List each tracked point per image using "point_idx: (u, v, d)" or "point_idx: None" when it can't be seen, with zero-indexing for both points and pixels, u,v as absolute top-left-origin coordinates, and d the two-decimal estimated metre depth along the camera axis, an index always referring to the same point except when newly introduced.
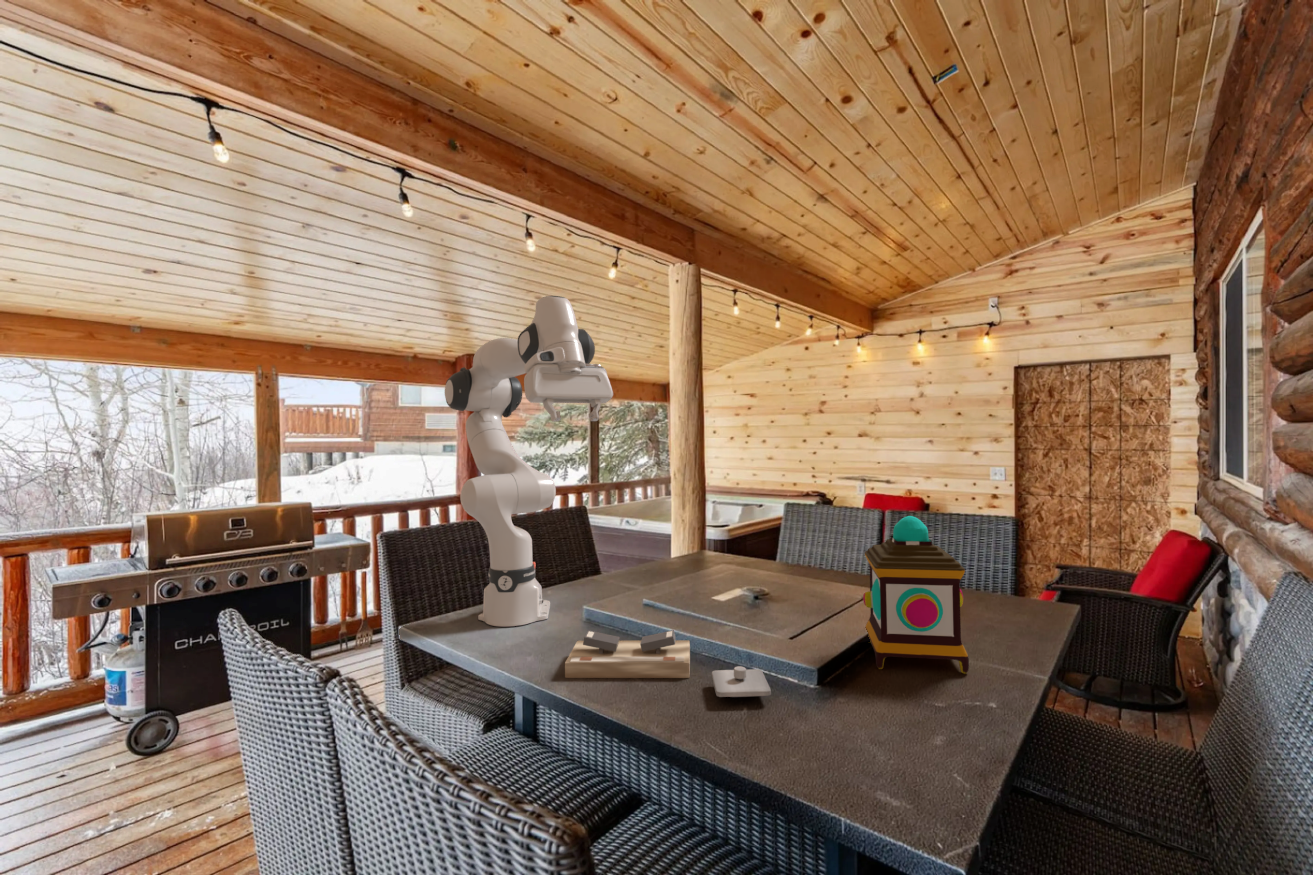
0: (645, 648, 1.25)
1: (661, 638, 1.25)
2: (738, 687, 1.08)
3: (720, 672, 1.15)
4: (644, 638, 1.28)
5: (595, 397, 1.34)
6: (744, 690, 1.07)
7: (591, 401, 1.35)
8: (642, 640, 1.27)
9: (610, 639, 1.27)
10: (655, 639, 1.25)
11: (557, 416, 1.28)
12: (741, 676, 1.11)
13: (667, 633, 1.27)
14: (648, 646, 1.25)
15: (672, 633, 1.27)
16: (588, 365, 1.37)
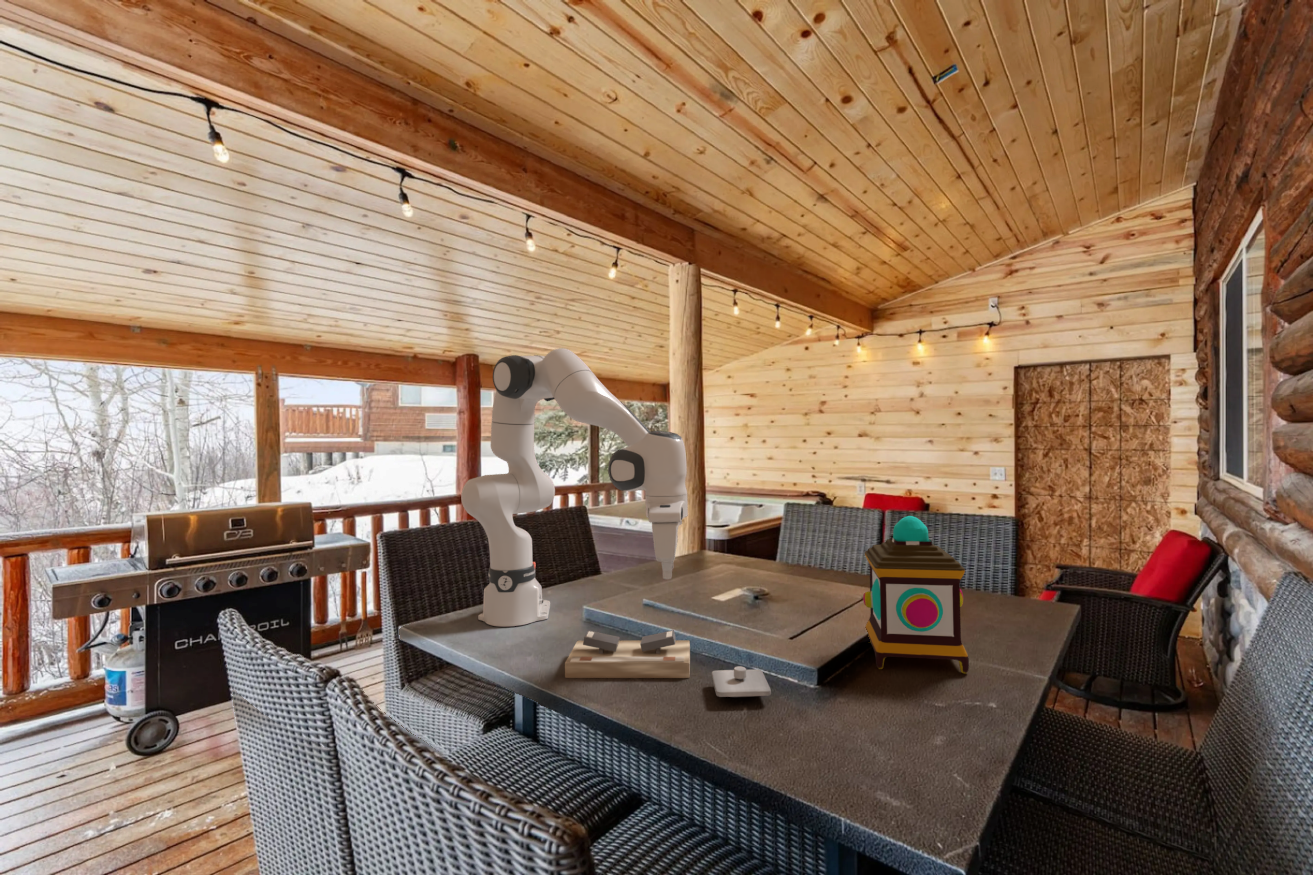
0: (645, 648, 1.25)
1: (661, 638, 1.25)
2: (738, 687, 1.08)
3: (720, 672, 1.15)
4: (644, 638, 1.28)
5: None
6: (744, 690, 1.07)
7: None
8: (642, 640, 1.27)
9: (610, 639, 1.27)
10: (655, 639, 1.25)
11: (671, 575, 1.23)
12: (741, 676, 1.11)
13: (667, 633, 1.27)
14: (648, 646, 1.25)
15: (672, 633, 1.27)
16: None
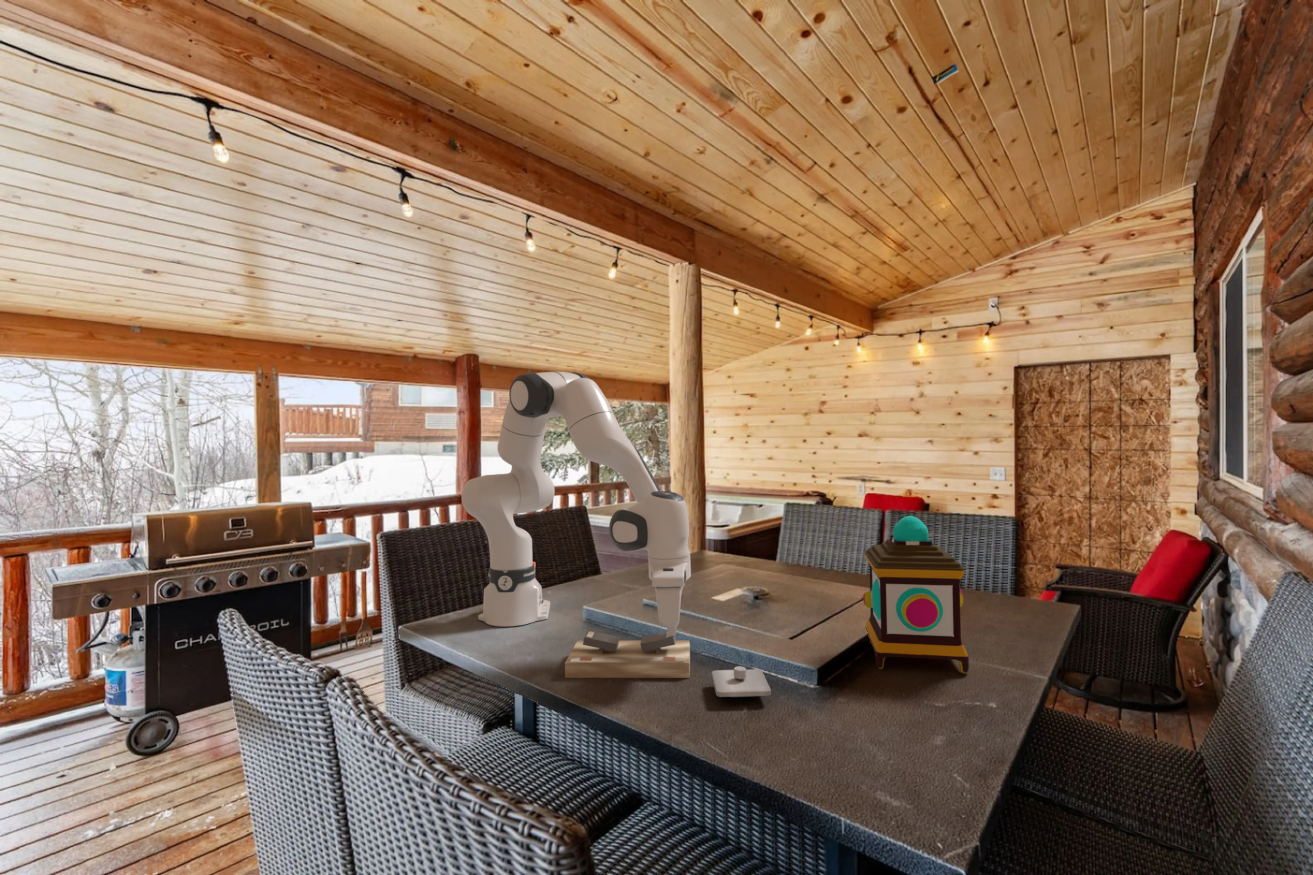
0: (645, 648, 1.25)
1: (661, 638, 1.25)
2: (738, 687, 1.08)
3: (720, 672, 1.15)
4: (644, 638, 1.28)
5: None
6: (744, 690, 1.07)
7: None
8: (642, 640, 1.27)
9: (610, 639, 1.27)
10: (655, 639, 1.25)
11: None
12: (741, 676, 1.11)
13: None
14: (648, 646, 1.25)
15: None
16: None
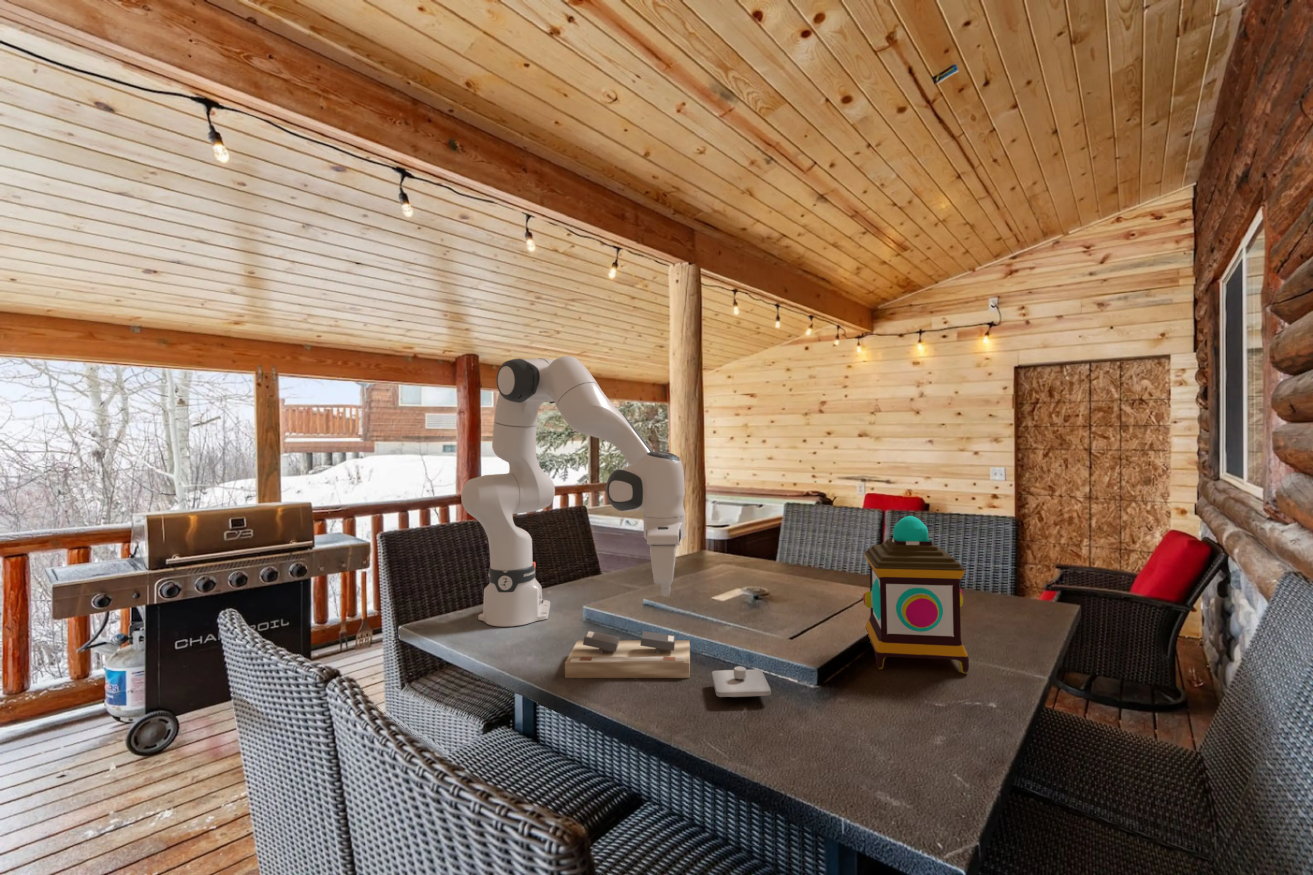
0: (644, 643, 1.25)
1: (662, 640, 1.25)
2: (738, 687, 1.08)
3: (720, 672, 1.15)
4: (645, 633, 1.28)
5: None
6: (744, 690, 1.07)
7: None
8: (643, 634, 1.27)
9: (610, 639, 1.27)
10: (656, 639, 1.25)
11: (669, 592, 1.26)
12: (741, 676, 1.11)
13: (669, 637, 1.27)
14: (648, 643, 1.25)
15: (674, 639, 1.27)
16: None
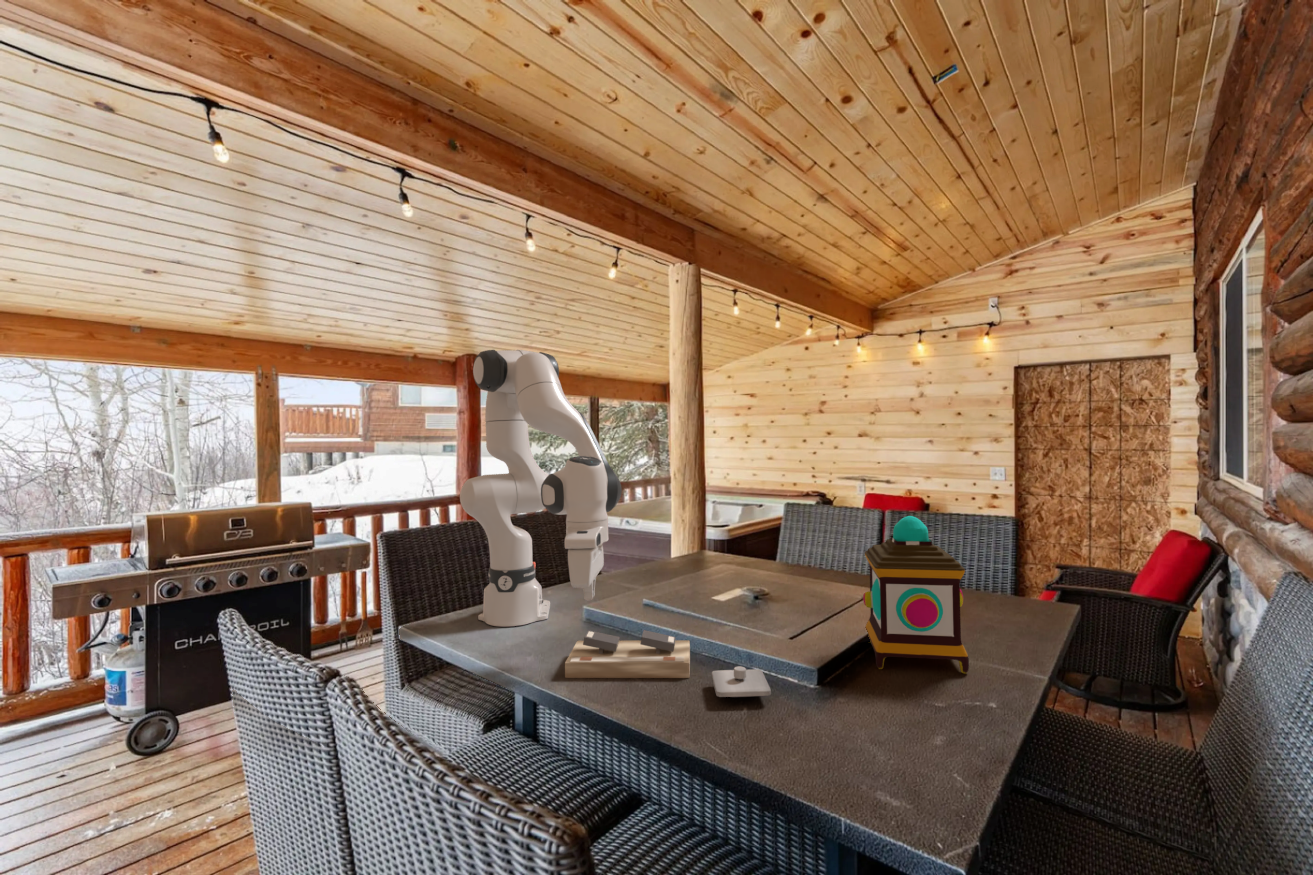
0: (644, 642, 1.25)
1: (663, 640, 1.25)
2: (738, 687, 1.08)
3: (720, 672, 1.15)
4: (645, 632, 1.28)
5: None
6: (744, 690, 1.07)
7: None
8: (643, 633, 1.27)
9: (610, 639, 1.27)
10: (657, 639, 1.25)
11: (592, 596, 1.27)
12: (741, 676, 1.11)
13: (669, 637, 1.27)
14: (648, 642, 1.25)
15: (674, 640, 1.27)
16: None
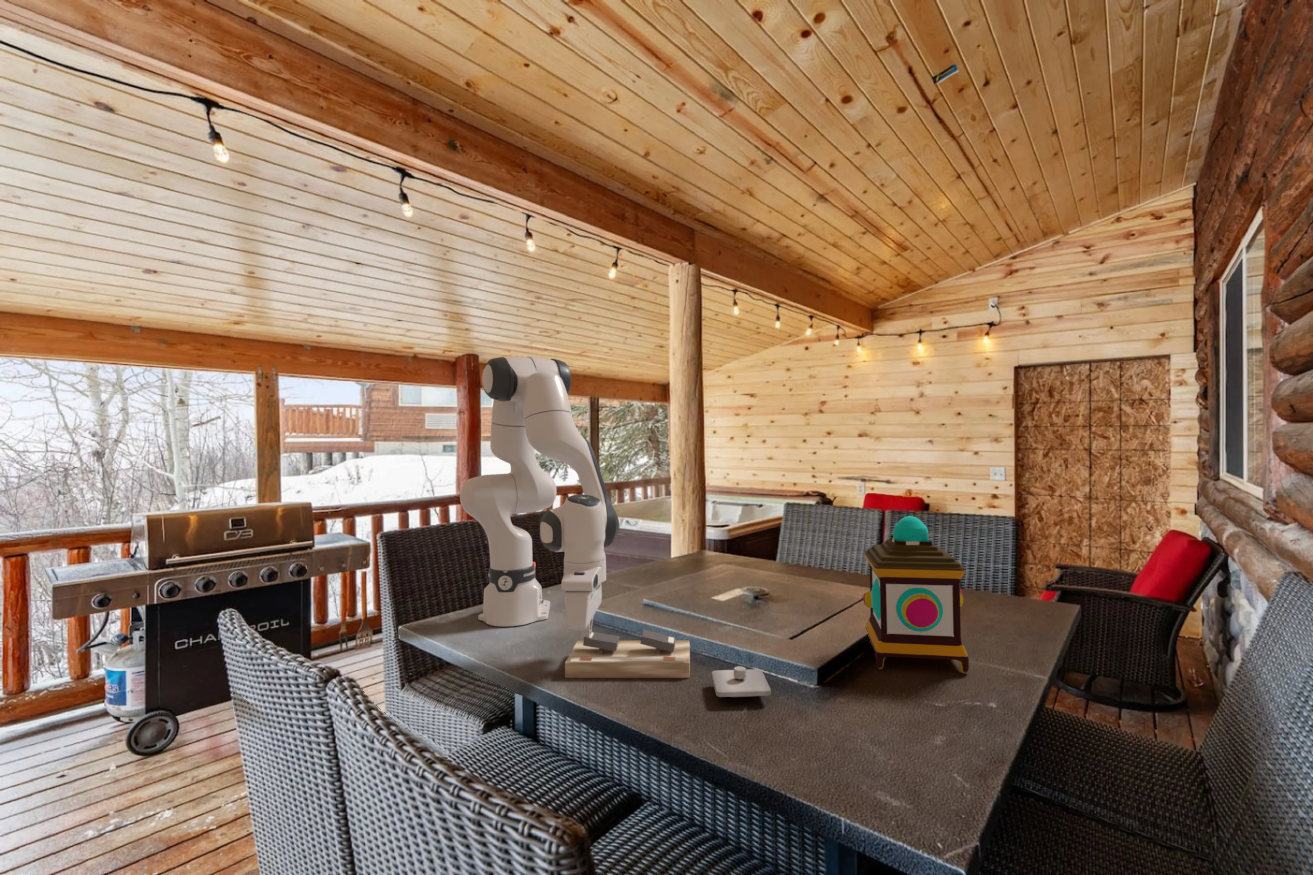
0: (644, 642, 1.25)
1: (663, 640, 1.25)
2: (738, 687, 1.08)
3: (720, 672, 1.15)
4: (646, 632, 1.28)
5: (597, 607, 1.32)
6: (744, 690, 1.07)
7: None
8: (644, 633, 1.27)
9: (610, 639, 1.27)
10: (657, 639, 1.25)
11: (589, 635, 1.27)
12: (741, 676, 1.11)
13: (669, 638, 1.27)
14: (648, 642, 1.25)
15: (674, 640, 1.27)
16: None
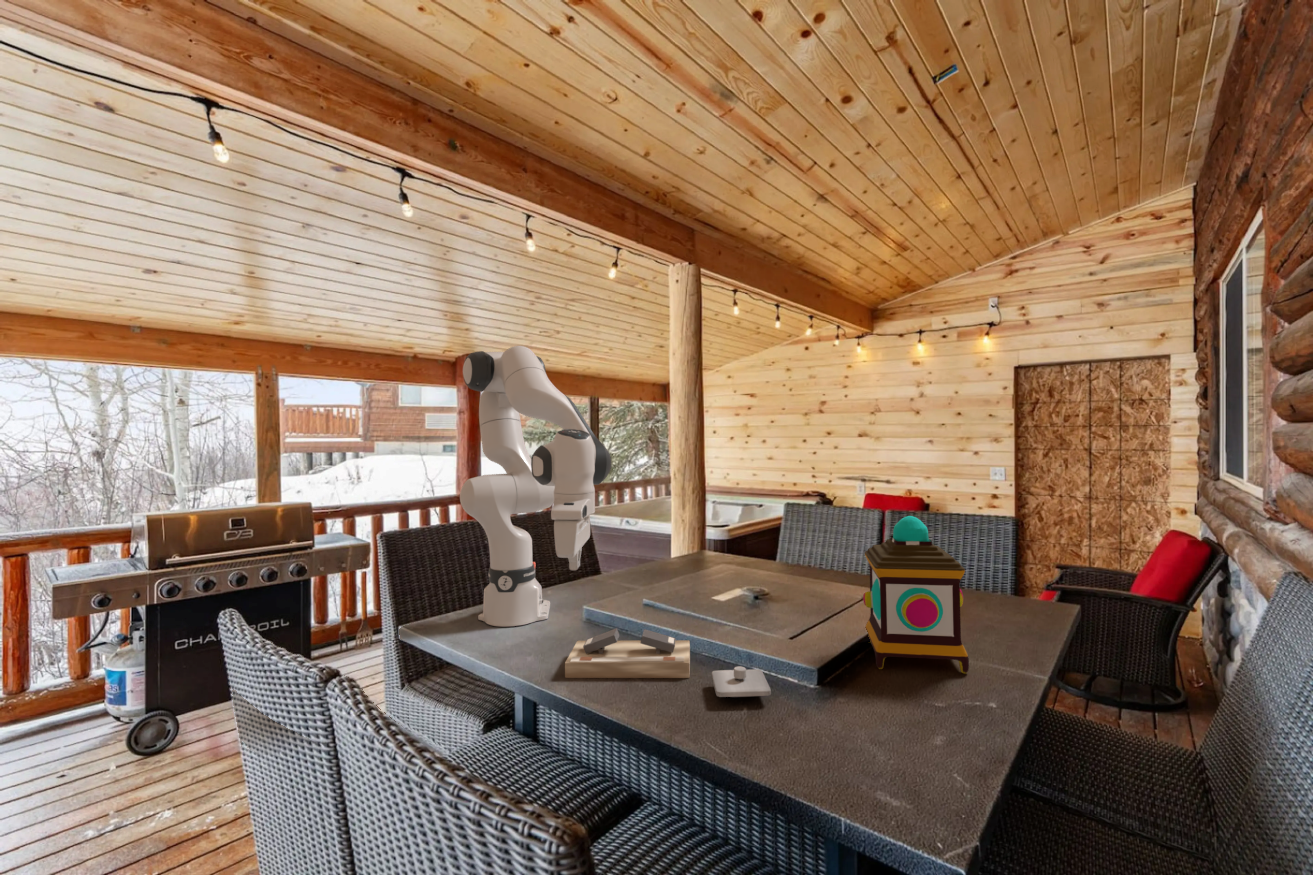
0: (644, 642, 1.25)
1: (663, 640, 1.25)
2: (738, 687, 1.08)
3: (720, 672, 1.15)
4: (646, 632, 1.28)
5: None
6: (744, 690, 1.07)
7: None
8: (644, 633, 1.27)
9: (607, 635, 1.27)
10: (657, 638, 1.25)
11: (578, 566, 1.30)
12: (741, 676, 1.11)
13: (669, 638, 1.27)
14: (648, 642, 1.25)
15: (674, 641, 1.27)
16: None
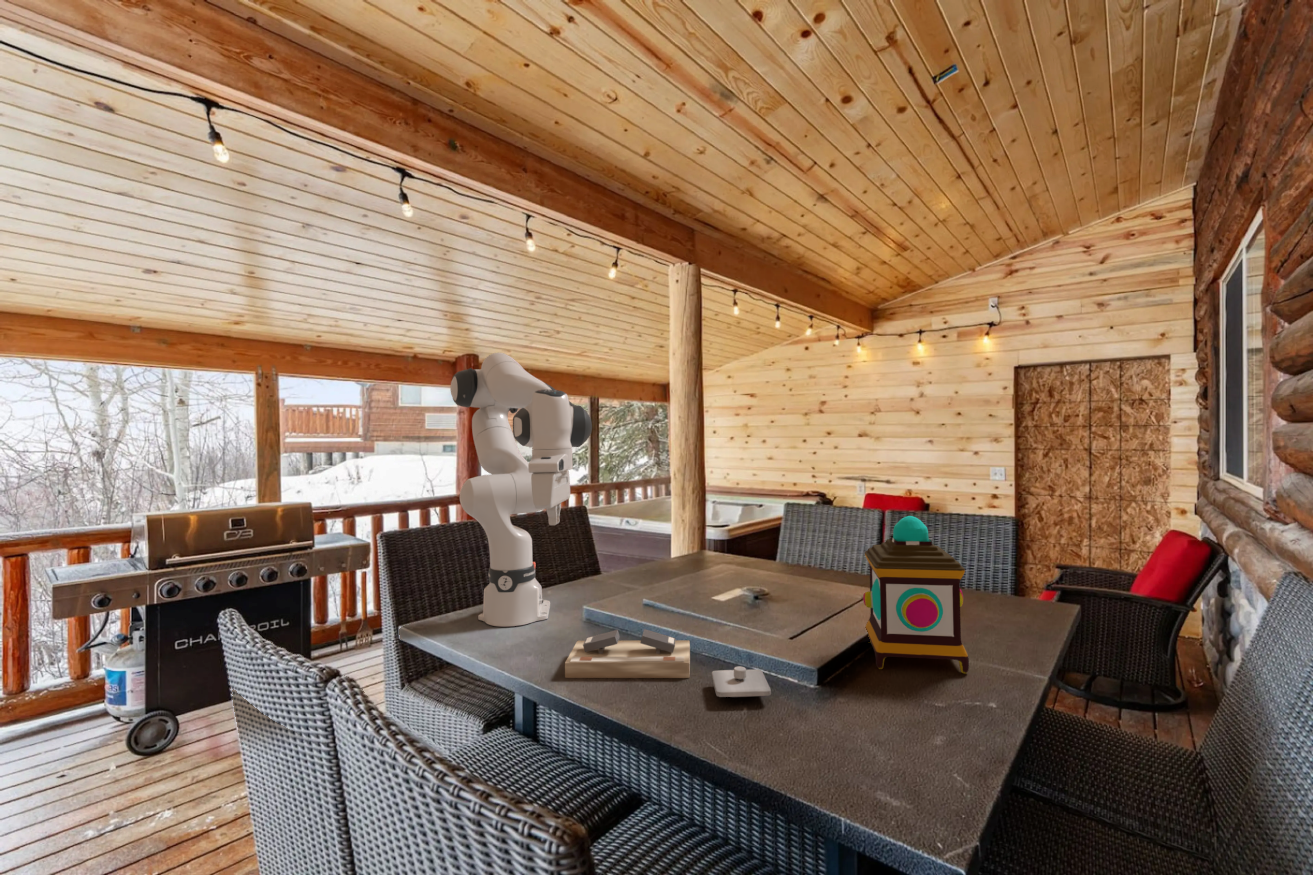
0: (644, 642, 1.25)
1: (663, 640, 1.25)
2: (738, 687, 1.08)
3: (720, 672, 1.15)
4: (646, 631, 1.28)
5: (565, 499, 1.39)
6: (744, 690, 1.07)
7: None
8: (644, 633, 1.27)
9: (608, 635, 1.27)
10: (657, 638, 1.25)
11: (557, 521, 1.33)
12: (741, 676, 1.11)
13: (669, 638, 1.27)
14: (648, 642, 1.25)
15: (674, 641, 1.27)
16: None
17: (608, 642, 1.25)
